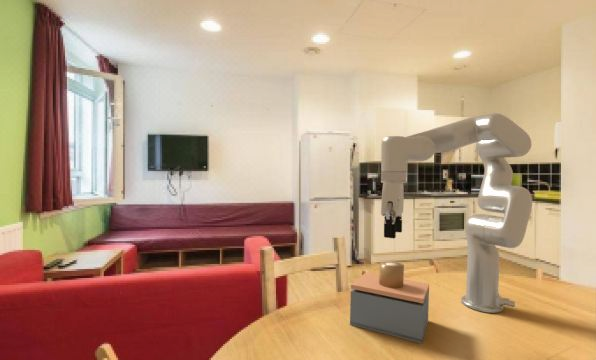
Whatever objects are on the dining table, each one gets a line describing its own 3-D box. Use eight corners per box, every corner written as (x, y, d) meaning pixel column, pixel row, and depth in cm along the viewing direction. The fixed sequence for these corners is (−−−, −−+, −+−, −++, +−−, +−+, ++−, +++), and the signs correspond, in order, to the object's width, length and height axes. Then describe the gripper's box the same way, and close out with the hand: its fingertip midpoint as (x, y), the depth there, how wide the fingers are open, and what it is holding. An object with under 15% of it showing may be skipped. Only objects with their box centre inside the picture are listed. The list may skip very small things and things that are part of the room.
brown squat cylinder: (405, 283, 95) (405, 263, 95) (400, 289, 88) (401, 268, 89) (382, 279, 98) (382, 260, 98) (376, 285, 92) (377, 264, 92)
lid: (429, 287, 95) (429, 283, 95) (423, 303, 82) (423, 299, 82) (365, 276, 105) (365, 272, 105) (350, 288, 91) (351, 284, 91)
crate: (428, 320, 95) (429, 288, 95) (421, 343, 82) (423, 306, 82) (364, 306, 105) (365, 276, 105) (349, 324, 92) (350, 291, 91)
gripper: (387, 177, 102) (387, 228, 102) (373, 178, 87) (373, 238, 87) (411, 177, 98) (410, 231, 99) (401, 178, 83) (400, 241, 84)
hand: (393, 234), depth 93 cm, fingers open, 9 cm apart
